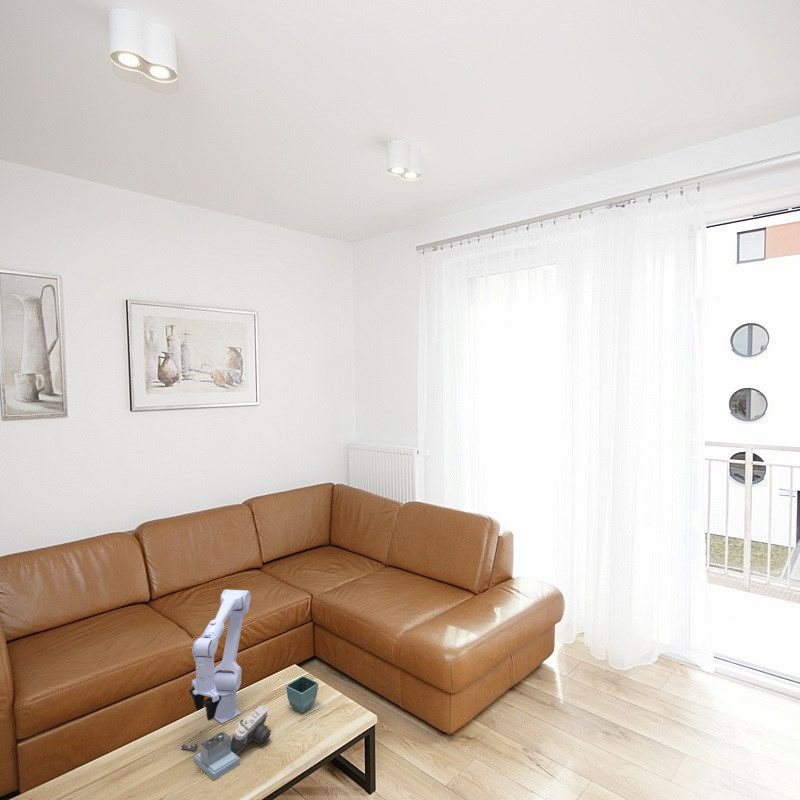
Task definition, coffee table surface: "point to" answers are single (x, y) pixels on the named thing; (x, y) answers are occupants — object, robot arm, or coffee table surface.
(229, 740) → the block
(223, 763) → the stand
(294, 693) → the flower pot
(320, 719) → the coffee table surface
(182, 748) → the bolt
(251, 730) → the camera
